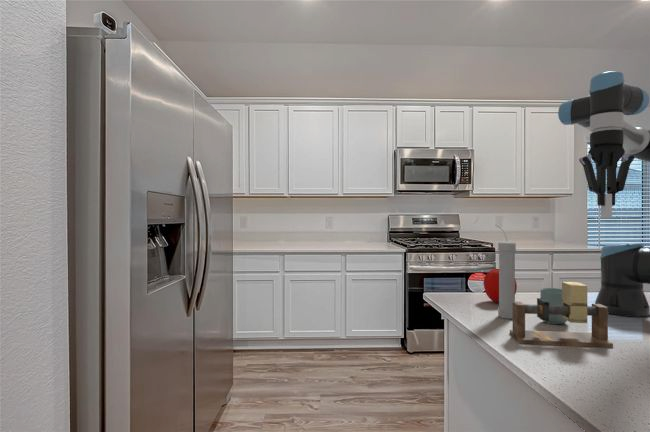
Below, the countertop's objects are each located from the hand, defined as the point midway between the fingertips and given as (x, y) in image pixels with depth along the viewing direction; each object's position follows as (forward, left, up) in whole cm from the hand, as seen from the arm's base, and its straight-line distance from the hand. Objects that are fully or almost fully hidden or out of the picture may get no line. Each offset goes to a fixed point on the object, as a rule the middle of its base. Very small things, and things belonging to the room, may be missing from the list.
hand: (606, 217), depth 110 cm
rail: (+14, +5, -32) cm, 36 cm away
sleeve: (+10, +5, -27) cm, 29 cm away
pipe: (+21, -18, -33) cm, 43 cm away
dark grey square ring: (+18, +5, -27) cm, 33 cm away
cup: (+8, -13, -33) cm, 36 cm away
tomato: (+17, -40, -33) cm, 54 cm away
